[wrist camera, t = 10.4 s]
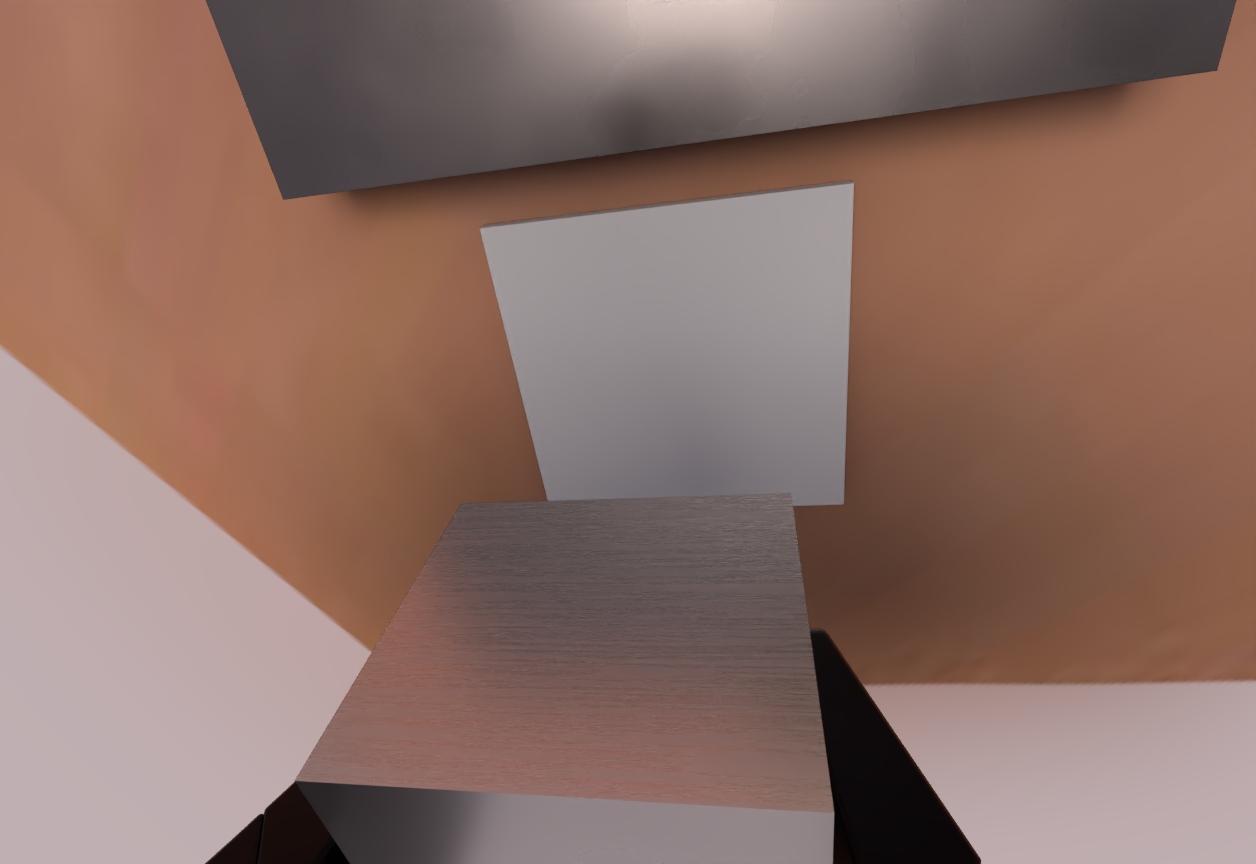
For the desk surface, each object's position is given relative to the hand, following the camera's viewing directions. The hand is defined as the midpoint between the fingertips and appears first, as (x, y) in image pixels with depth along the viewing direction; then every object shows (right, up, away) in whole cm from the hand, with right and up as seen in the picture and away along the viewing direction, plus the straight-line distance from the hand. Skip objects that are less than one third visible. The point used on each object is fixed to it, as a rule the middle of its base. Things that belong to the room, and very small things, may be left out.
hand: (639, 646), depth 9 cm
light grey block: (0, 0, 0) cm, 0 cm away
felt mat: (+1, +5, +8) cm, 10 cm away
